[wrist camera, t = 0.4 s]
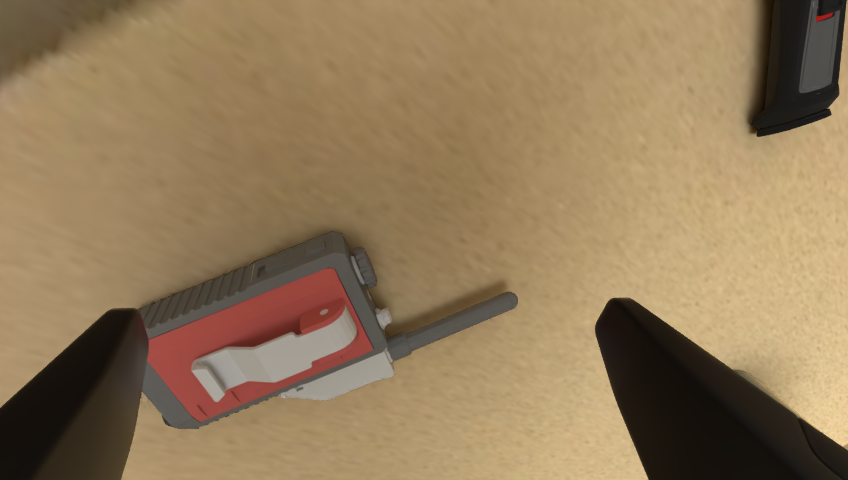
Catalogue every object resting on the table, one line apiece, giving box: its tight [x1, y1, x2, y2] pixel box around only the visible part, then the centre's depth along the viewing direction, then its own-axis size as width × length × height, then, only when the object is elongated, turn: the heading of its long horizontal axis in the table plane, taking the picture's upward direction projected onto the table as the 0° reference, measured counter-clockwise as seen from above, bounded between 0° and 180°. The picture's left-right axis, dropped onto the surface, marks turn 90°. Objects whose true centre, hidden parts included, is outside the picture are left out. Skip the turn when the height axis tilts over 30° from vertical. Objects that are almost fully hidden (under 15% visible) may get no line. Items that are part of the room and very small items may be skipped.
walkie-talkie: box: [138, 232, 518, 429], centre depth 25 cm, size 9×4×20 cm
